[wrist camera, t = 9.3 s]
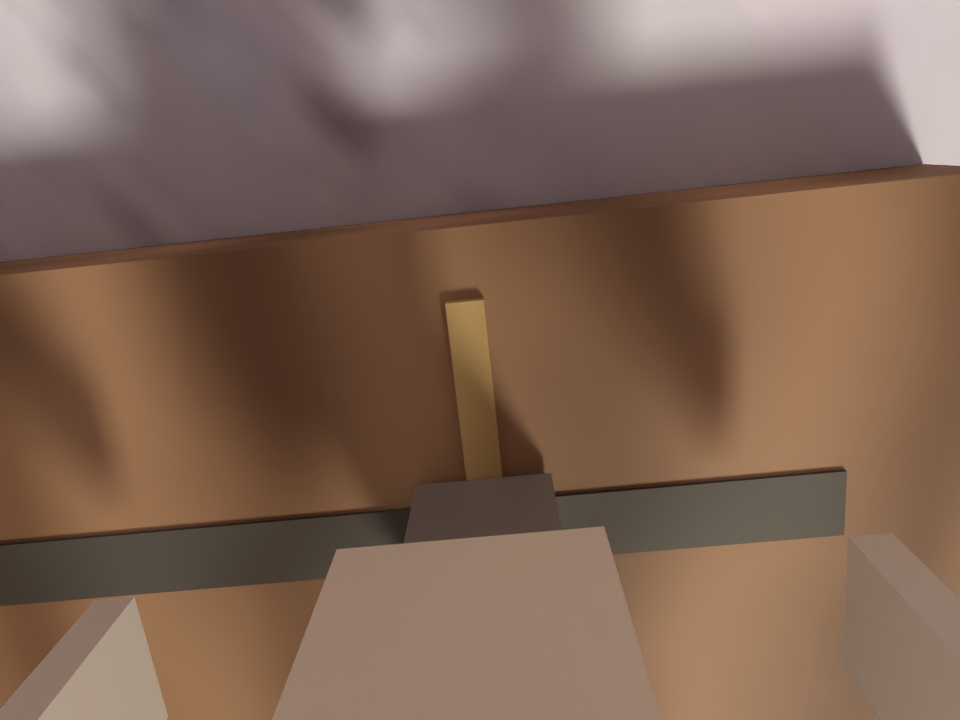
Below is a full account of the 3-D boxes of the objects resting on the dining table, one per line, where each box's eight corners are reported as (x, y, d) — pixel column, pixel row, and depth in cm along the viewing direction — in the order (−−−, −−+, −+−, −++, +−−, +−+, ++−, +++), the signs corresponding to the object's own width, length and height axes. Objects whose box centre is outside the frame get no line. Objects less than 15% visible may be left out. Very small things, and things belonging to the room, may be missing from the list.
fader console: (-157, 738, 22) (-261, 834, 19) (-353, 299, 18) (-523, 331, 15) (890, 658, 21) (959, 748, 18) (924, 164, 17) (1021, 168, 14)
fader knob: (420, 655, 17) (349, 1165, 9) (384, 424, 16) (251, 772, 7) (586, 643, 17) (683, 1149, 9) (569, 407, 15) (667, 741, 7)
